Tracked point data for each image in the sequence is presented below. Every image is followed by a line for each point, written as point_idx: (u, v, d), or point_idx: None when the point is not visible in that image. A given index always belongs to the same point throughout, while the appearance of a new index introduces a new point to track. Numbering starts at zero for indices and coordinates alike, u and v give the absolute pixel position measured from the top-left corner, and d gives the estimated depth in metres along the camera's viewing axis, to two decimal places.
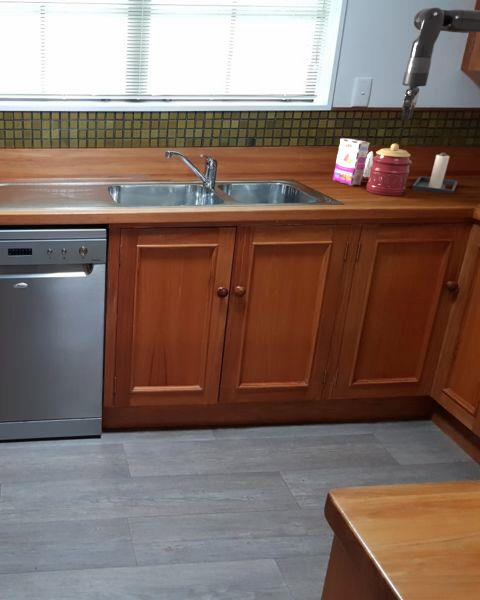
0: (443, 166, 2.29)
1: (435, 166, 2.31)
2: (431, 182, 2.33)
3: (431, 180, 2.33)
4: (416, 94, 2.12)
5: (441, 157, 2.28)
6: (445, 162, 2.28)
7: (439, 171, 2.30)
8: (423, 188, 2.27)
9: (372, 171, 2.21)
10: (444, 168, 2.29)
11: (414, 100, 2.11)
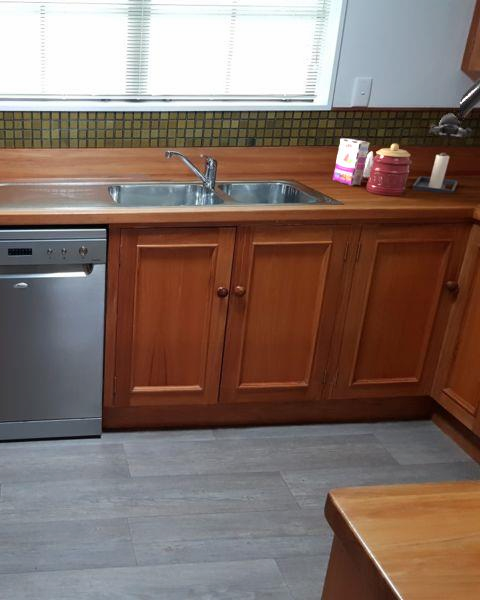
0: (443, 166, 2.29)
1: (435, 166, 2.31)
2: (431, 182, 2.33)
3: (431, 180, 2.33)
4: (444, 124, 2.41)
5: (441, 157, 2.28)
6: (445, 162, 2.28)
7: (439, 171, 2.30)
8: (423, 188, 2.27)
9: (372, 171, 2.21)
10: (444, 168, 2.29)
11: (440, 125, 2.40)
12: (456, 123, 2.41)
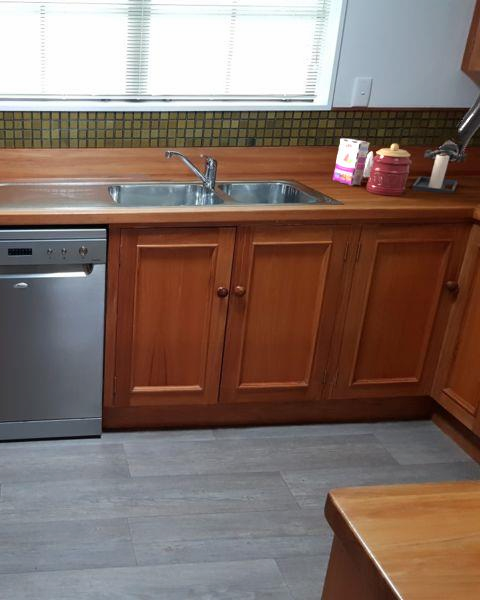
0: (443, 166, 2.29)
1: (435, 166, 2.31)
2: (431, 182, 2.33)
3: (431, 180, 2.33)
4: (440, 150, 2.44)
5: (441, 157, 2.28)
6: (445, 162, 2.28)
7: (439, 171, 2.30)
8: (423, 188, 2.27)
9: (372, 171, 2.21)
10: (444, 168, 2.29)
11: None
12: (452, 149, 2.44)
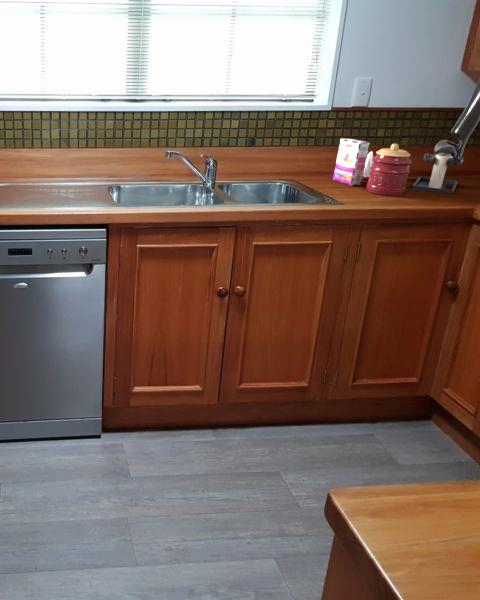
0: (443, 166, 2.29)
1: (435, 166, 2.31)
2: (431, 182, 2.33)
3: (431, 180, 2.33)
4: (438, 153, 2.36)
5: (441, 157, 2.28)
6: (445, 162, 2.28)
7: (439, 171, 2.30)
8: (423, 188, 2.27)
9: (372, 171, 2.21)
10: (444, 168, 2.29)
11: (435, 154, 2.34)
12: (450, 152, 2.36)
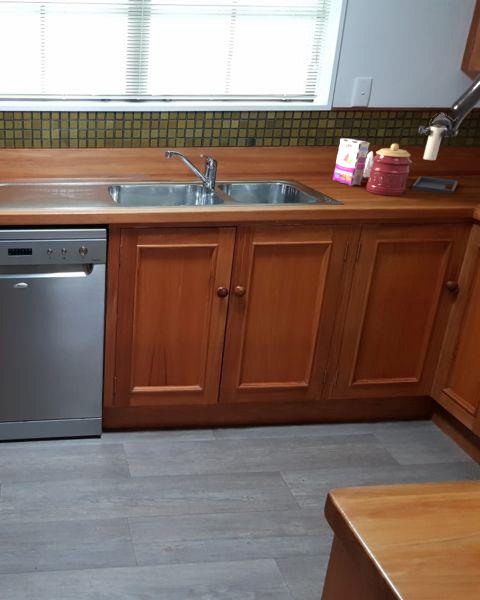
0: (437, 138, 2.30)
1: (430, 138, 2.32)
2: (426, 154, 2.34)
3: (426, 152, 2.34)
4: (433, 125, 2.37)
5: (435, 128, 2.29)
6: (439, 134, 2.29)
7: (433, 143, 2.31)
8: (423, 188, 2.27)
9: (372, 171, 2.21)
10: (438, 140, 2.30)
11: (430, 126, 2.35)
12: (445, 124, 2.37)
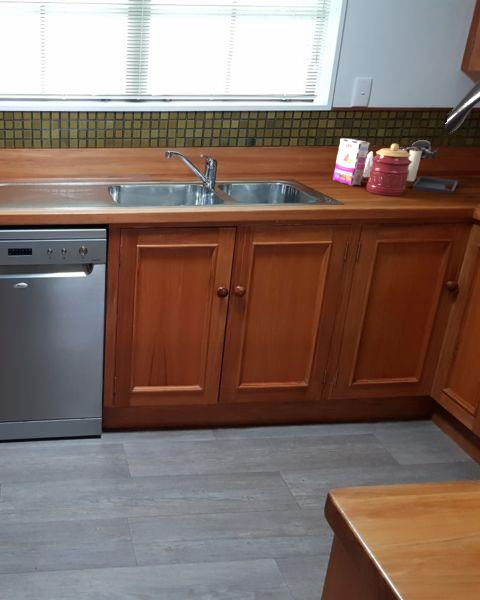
0: (416, 161, 2.40)
1: None
2: None
3: None
4: (412, 147, 2.47)
5: (414, 152, 2.39)
6: (417, 157, 2.40)
7: (412, 165, 2.41)
8: (423, 188, 2.27)
9: (372, 171, 2.21)
10: (417, 162, 2.41)
11: (407, 147, 2.46)
12: (424, 146, 2.47)
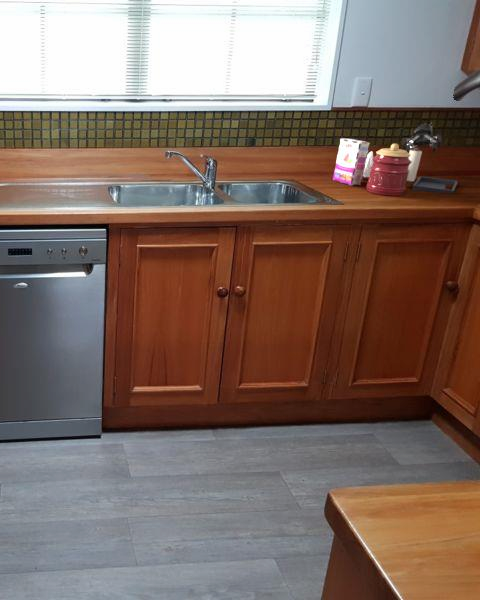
0: (416, 161, 2.40)
1: None
2: None
3: None
4: (415, 137, 2.51)
5: (414, 152, 2.39)
6: (417, 157, 2.40)
7: (412, 165, 2.41)
8: (423, 188, 2.27)
9: (372, 171, 2.21)
10: (417, 162, 2.41)
11: (411, 139, 2.51)
12: (426, 131, 2.51)
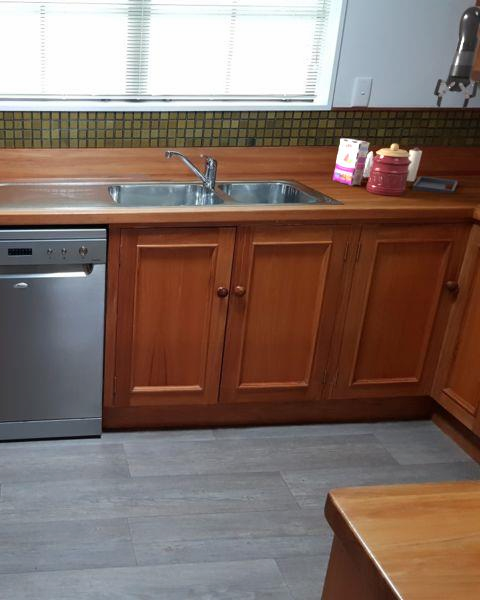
0: (416, 161, 2.40)
1: None
2: None
3: None
4: (450, 84, 2.36)
5: (414, 152, 2.39)
6: (417, 157, 2.40)
7: (412, 165, 2.41)
8: (423, 188, 2.27)
9: (372, 171, 2.21)
10: (417, 162, 2.41)
11: None
12: (464, 77, 2.33)
